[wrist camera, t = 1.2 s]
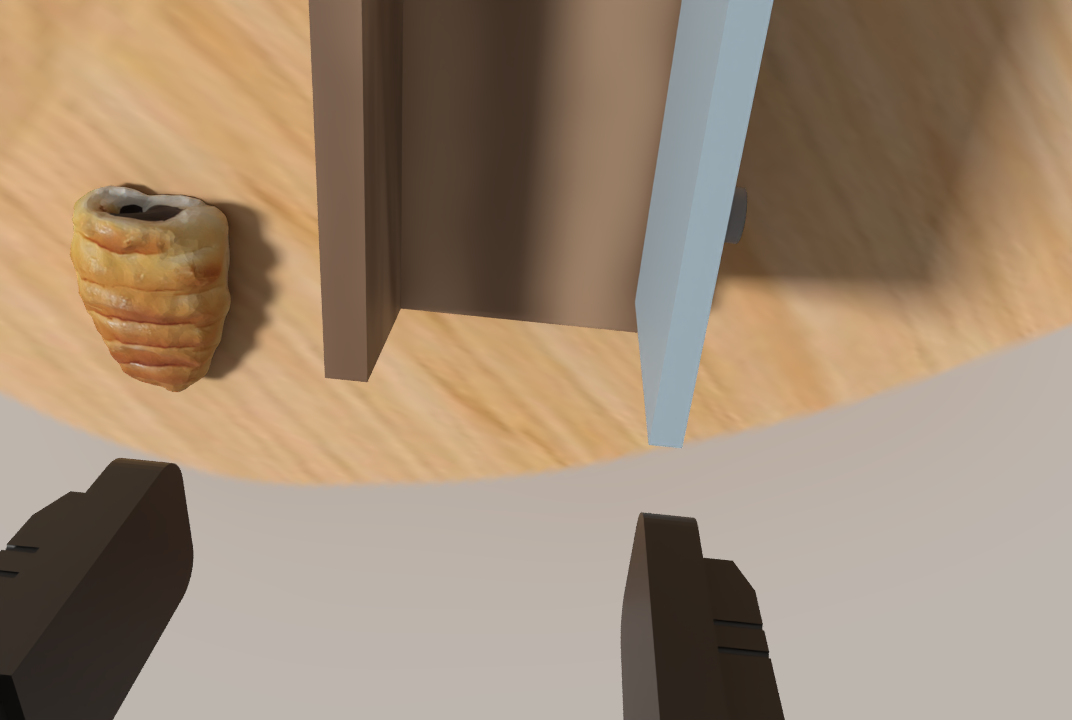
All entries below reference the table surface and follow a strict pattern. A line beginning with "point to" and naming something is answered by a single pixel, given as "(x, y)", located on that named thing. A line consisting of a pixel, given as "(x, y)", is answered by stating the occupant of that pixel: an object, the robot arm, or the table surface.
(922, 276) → the table surface
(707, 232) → the light blue flat panel
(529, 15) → the brown wooden l-shaped piece
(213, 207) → the pastry
